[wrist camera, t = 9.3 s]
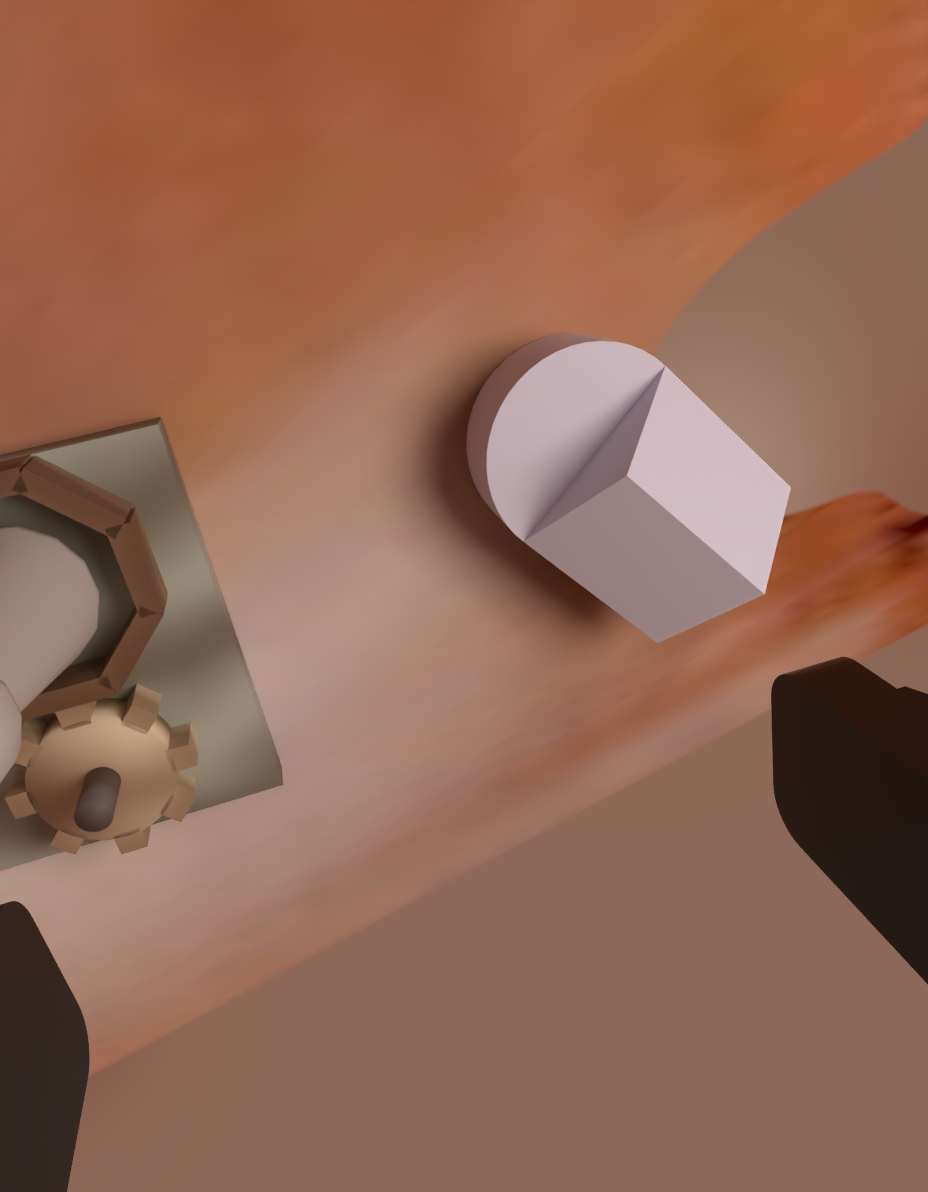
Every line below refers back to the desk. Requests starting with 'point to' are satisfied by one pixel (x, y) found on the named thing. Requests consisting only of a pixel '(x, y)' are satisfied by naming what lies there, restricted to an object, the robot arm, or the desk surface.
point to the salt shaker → (38, 623)
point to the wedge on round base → (625, 481)
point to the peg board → (177, 637)
